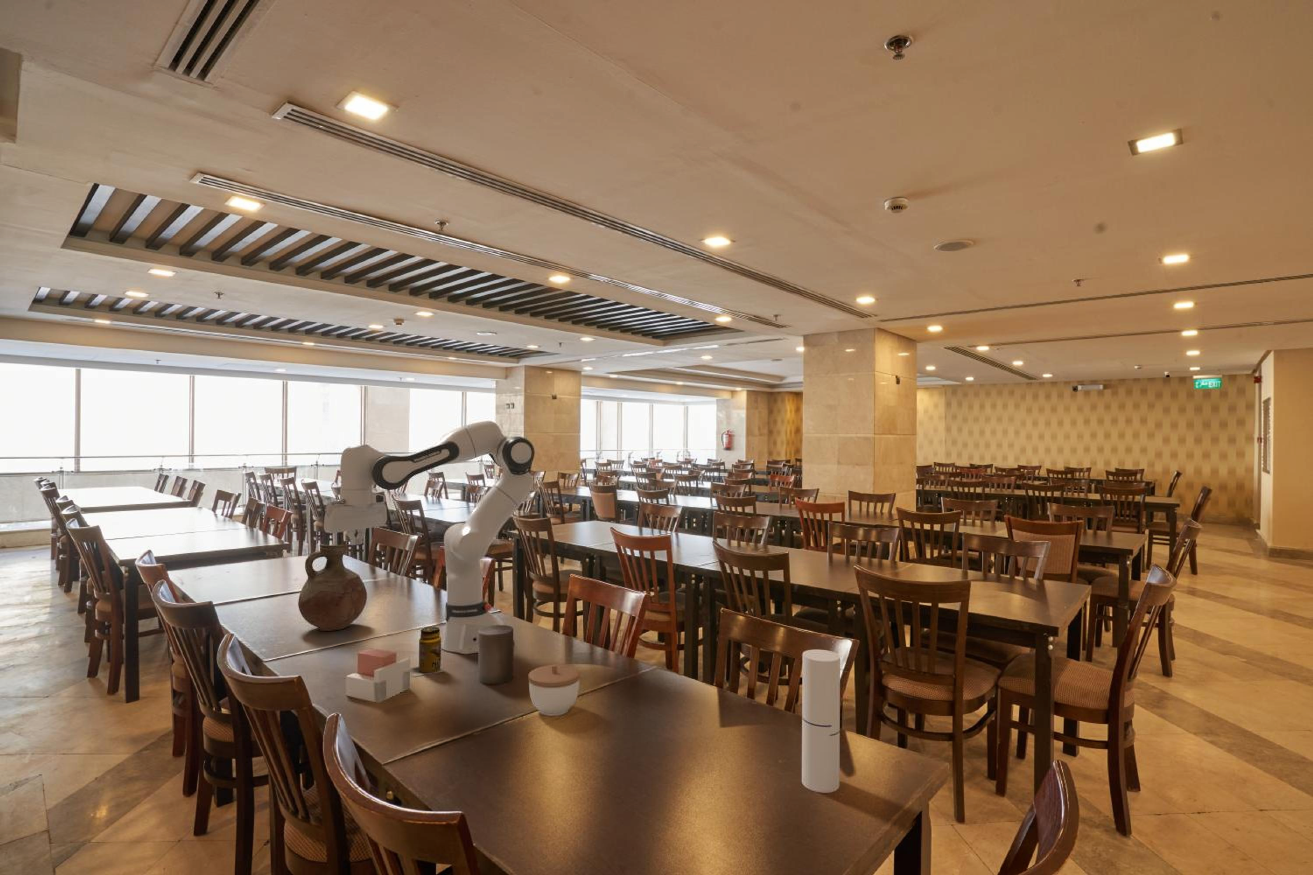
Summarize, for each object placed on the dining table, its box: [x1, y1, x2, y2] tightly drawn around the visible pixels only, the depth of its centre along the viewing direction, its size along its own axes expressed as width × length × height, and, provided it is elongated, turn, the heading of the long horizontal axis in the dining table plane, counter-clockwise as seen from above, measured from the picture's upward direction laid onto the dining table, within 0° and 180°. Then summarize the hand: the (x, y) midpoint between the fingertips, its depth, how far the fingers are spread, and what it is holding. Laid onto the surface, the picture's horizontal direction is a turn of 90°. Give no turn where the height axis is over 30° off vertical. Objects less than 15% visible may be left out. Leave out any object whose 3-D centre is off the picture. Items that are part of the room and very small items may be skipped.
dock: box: [345, 657, 411, 704], centre depth 174 cm, size 12×10×8 cm
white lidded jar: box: [528, 664, 581, 717], centre depth 163 cm, size 13×13×11 cm
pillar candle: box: [477, 624, 514, 685], centre depth 185 cm, size 10×10×15 cm
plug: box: [357, 647, 397, 677], centre depth 174 cm, size 9×4×10 cm, turn 65°
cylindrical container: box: [801, 649, 841, 794], centre depth 129 cm, size 7×7×25 cm
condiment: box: [410, 626, 445, 677], centre depth 191 cm, size 7×8×12 cm
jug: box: [297, 543, 368, 632], centre depth 232 cm, size 22×22×30 cm
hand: (356, 544), depth 199 cm, fingers closed
